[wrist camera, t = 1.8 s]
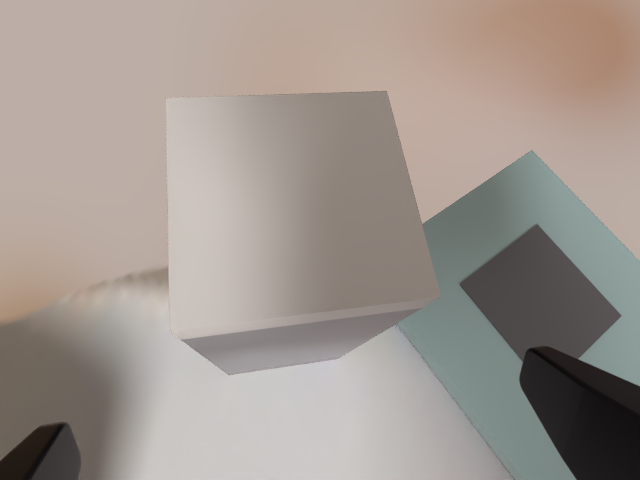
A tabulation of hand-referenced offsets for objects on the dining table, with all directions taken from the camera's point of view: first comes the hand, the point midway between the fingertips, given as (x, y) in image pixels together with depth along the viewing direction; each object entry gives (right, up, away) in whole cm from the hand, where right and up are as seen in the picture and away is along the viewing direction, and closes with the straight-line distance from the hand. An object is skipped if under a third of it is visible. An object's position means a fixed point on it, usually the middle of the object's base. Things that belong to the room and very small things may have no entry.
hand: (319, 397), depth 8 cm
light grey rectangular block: (-2, 0, +11) cm, 12 cm away
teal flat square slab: (+11, 0, +13) cm, 17 cm away
